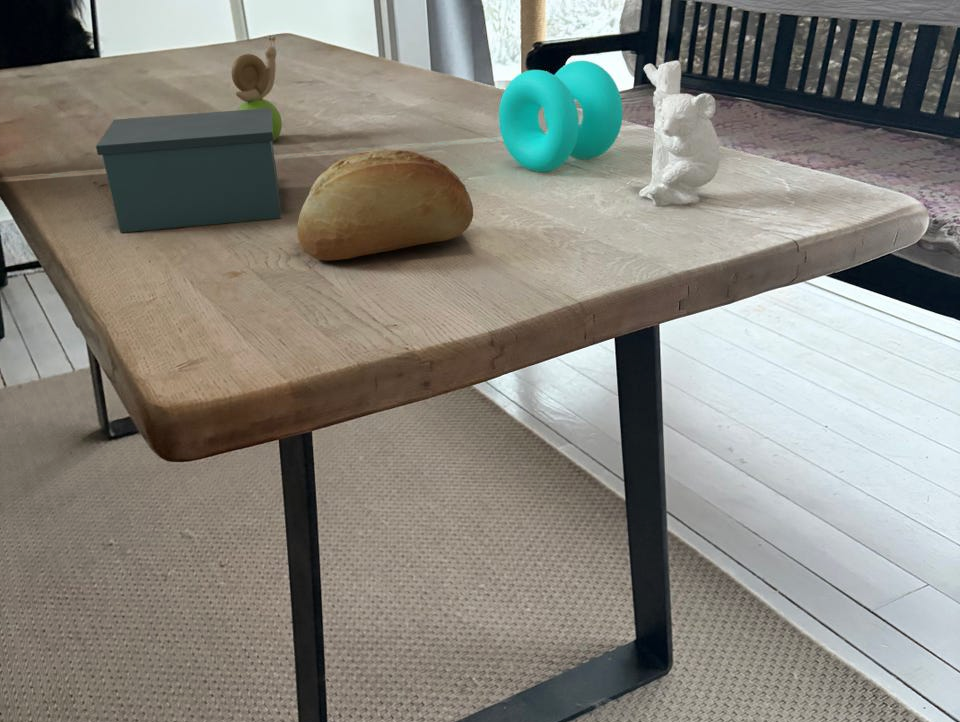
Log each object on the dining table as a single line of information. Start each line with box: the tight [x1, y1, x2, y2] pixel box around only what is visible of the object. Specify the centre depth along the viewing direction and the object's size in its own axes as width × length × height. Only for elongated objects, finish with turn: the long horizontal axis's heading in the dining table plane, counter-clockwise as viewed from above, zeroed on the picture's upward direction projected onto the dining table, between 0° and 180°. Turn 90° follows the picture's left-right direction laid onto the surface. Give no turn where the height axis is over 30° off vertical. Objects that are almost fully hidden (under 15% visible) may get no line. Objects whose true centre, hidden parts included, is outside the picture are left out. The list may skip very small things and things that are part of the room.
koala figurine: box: [638, 60, 722, 207], centre depth 85 cm, size 8×7×12 cm
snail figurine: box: [231, 34, 283, 143], centre depth 113 cm, size 5×6×12 cm
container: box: [95, 108, 282, 234], centre depth 90 cm, size 15×12×8 cm
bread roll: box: [296, 149, 474, 261], centre depth 77 cm, size 10×15×8 cm, turn 114°
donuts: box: [498, 60, 624, 173], centre depth 100 cm, size 10×10×10 cm
